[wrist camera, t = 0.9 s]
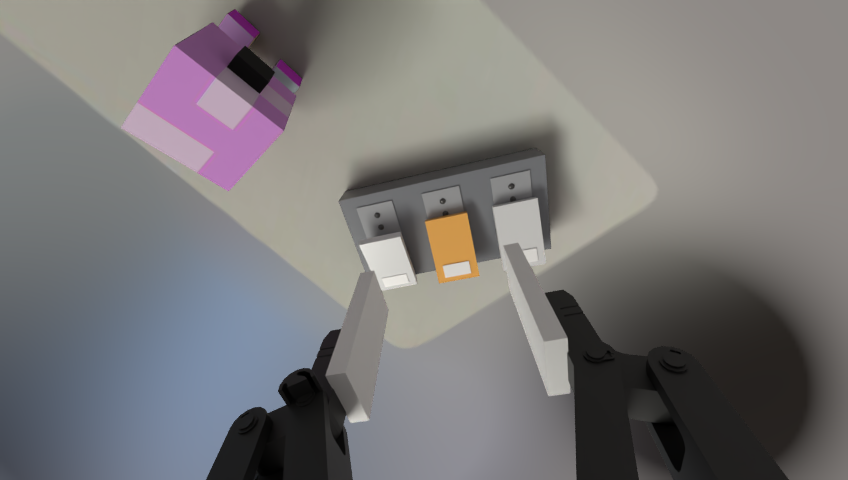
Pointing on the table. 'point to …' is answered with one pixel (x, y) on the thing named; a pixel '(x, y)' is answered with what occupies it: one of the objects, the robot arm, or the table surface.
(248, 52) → the toy
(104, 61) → the table surface
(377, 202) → the power strip
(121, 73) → the table surface
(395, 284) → the rocker
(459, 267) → the plate
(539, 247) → the rocker
